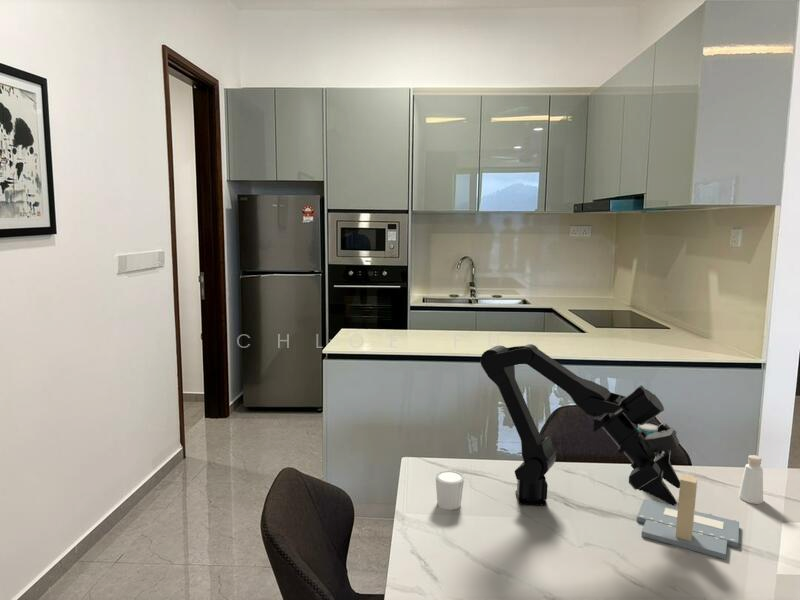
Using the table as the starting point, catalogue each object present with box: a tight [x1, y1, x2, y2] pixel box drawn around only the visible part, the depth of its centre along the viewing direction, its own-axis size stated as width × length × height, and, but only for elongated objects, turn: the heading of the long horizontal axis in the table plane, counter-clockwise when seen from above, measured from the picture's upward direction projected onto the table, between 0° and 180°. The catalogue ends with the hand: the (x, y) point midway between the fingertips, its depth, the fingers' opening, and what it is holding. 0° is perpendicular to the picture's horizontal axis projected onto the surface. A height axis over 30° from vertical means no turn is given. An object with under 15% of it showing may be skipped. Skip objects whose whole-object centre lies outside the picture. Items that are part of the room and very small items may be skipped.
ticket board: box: [636, 498, 740, 549], centre depth 130 cm, size 20×10×1 cm, turn 59°
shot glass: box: [435, 470, 465, 511], centre depth 138 cm, size 7×7×7 cm
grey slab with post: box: [641, 474, 728, 560], centre depth 123 cm, size 16×6×14 cm, turn 59°
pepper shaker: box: [738, 454, 764, 505], centre depth 142 cm, size 5×5×11 cm
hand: (677, 495), depth 123 cm, fingers open, 9 cm apart
